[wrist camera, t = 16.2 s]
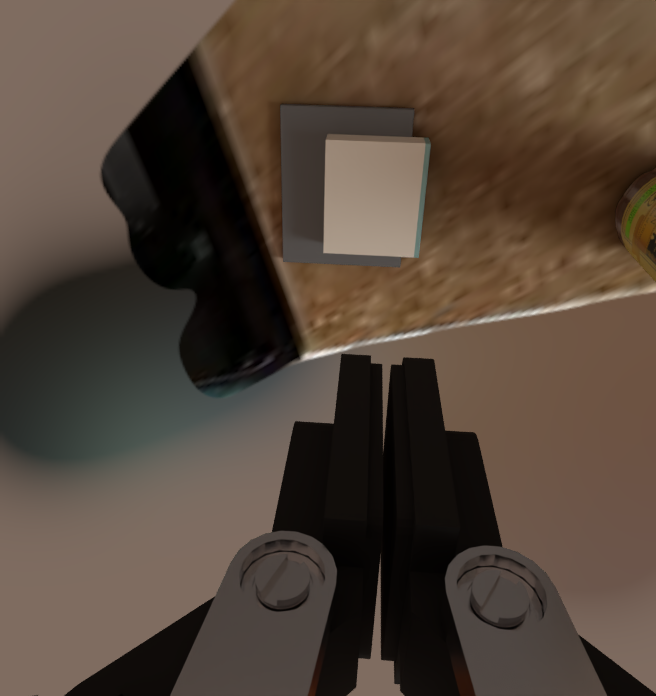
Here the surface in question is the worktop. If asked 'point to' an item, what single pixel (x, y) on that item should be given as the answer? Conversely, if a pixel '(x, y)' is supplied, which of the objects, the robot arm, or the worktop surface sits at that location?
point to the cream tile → (374, 194)
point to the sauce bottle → (639, 221)
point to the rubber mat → (309, 173)
